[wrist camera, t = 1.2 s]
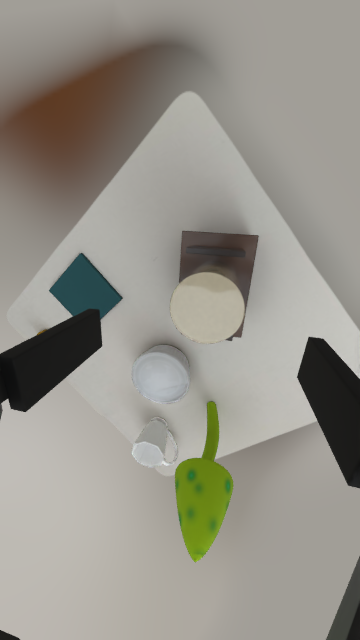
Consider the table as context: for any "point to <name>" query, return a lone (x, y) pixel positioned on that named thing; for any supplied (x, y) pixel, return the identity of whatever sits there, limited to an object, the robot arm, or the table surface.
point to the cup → (153, 444)
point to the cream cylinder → (208, 303)
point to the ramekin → (162, 374)
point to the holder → (220, 257)
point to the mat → (84, 289)
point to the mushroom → (203, 493)
